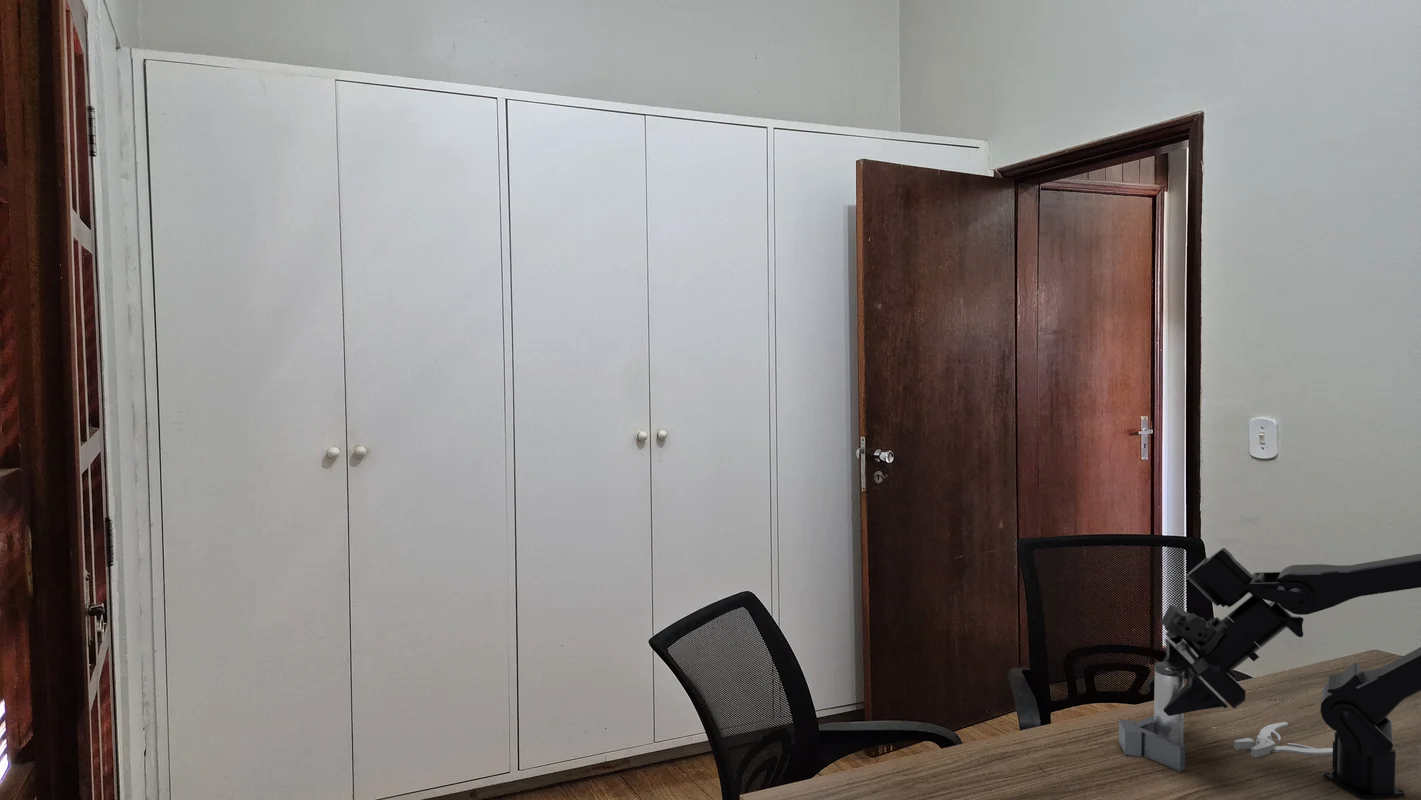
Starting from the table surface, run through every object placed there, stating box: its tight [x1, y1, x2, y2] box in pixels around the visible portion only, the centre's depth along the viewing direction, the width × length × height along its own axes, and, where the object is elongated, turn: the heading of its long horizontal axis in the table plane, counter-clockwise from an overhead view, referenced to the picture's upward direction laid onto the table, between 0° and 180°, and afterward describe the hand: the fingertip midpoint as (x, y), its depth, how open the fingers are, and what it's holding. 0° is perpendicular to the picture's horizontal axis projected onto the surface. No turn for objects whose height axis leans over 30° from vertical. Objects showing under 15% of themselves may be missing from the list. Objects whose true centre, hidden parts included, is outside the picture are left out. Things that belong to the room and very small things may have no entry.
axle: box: [1153, 661, 1185, 745], centre depth 125 cm, size 4×4×13 cm
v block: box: [1118, 715, 1186, 772], centre depth 126 cm, size 7×12×4 cm, turn 165°
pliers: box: [1233, 721, 1333, 759], centre depth 128 cm, size 10×2×15 cm
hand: (1157, 700), depth 126 cm, fingers open, 9 cm apart
